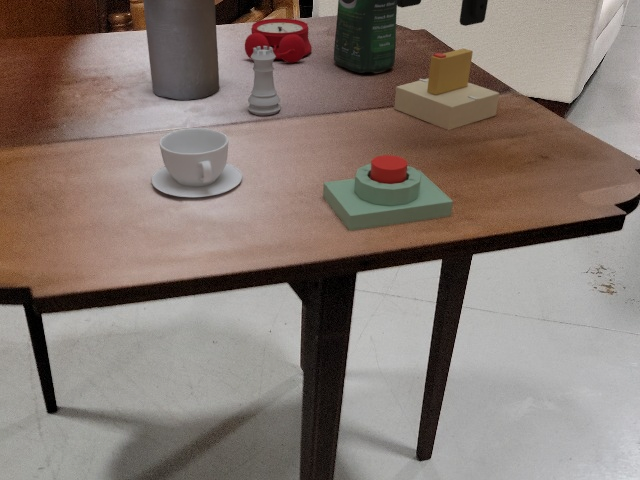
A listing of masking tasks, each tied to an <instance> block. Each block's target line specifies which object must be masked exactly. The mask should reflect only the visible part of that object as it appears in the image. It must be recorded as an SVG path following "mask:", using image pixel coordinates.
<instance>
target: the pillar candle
mask: <svg viewBox="0 0 640 480" xmlns="http://www.w3.org/2000/svg"><path fill="white" fill-rule="evenodd" d="M215 1H216V0H142V3H143V10H144V11H143V13H144V22H145V30H146V40H147V48H148V58H149V68H150V77H151V86H152V87H151V88H152V91H153V93H154V94H155V95H156V96H157V97H163V98H168V99H172V100H177V101H190V100H198V99H199V100H200V99H204V98H206V97H209V96H212V95H213V94H215V93H216V92H218V90H220V72H219V71H220V69H219V51H218V50H219V49H218V34H217V20H216V19H217V17H216V2H215Z"/></svg>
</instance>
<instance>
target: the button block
mask: <svg viewBox="0 0 640 480" xmlns="http://www.w3.org/2000/svg"><path fill="white" fill-rule="evenodd" d="M370 173H371V163H367V164H365V165H362V166H360V167H358V168H357V170H356V173H355V175H354V178H347V179H339V180H331V181H324V182H323V187H322V197H323V199H324V200H325V201H326V203H327V204H328V205H329V206H330V208H331V209H332V210H333V212H334V213H335V215H336V216H337V217H338V218H339V219H340V220H341V222H342V223H343V225H344V226H345V227H346V229H347V231H350V232H351V231H358V230H364V229H365V230H366V229H370V228H371V229H372V228H377V227H378V228H379V227H386V226H392V225H393V226H394V225H399V224H405V223H412V222H413V223H414V222H420V221H425V220H426V221H427V220H434V219H440V218H447V217H452V211H453V204H454V200H453V199H451V198H450V197H449V196H448V195H447V194H446V193H445V192H444V191H442V189H440V188H439V186H437V184H435V183H434V182H433V181H432V180H431V179H430V178H428V177H427V175H426V174H424V172H422V171H421V170H420V169H416V168H415V167H412V166H409V165H407V174H406V180H405V181H404V182H402V183H396V184H384V183H379V182H376V181H373V180H371V178H370Z"/></svg>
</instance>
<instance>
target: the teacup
mask: <svg viewBox="0 0 640 480" xmlns="http://www.w3.org/2000/svg"><path fill="white" fill-rule="evenodd" d="M229 141H230V140H229V137H228V135H226V134H225V133H223V131H220V130H216V129H212V128H206V127H189V128H188V127H187V128H181V129H177V130H174V131H170V132H168V133H166V134H164V135H163V136H162V137H160V139H159V142H158V144H159V145H158V146H159V149H160V154H161V158H162V162H163V165H164V166H162V167H160V168H159V169H157V170H156V171H155V172H154V173H153V175H152V176H151V184H152V186H153V187H154V188H155V189H156V190H158V191H160V192H162V193H164V194H167V195H170V196H174V197H181V198H204V197H205V198H206V197H212V196H217V195H219V194H224V193H226V192H228V191H230V190H232V189H234V188H235V187H237V186H238V185H239V184H240V183H241V181H242V180H243V174H242V171H241V170H240V169H239V168H238V167H236V166H235V165H234V164H231V163H228V156H229V155H228V154H229Z"/></svg>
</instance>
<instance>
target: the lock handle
mask: <svg viewBox="0 0 640 480" xmlns="http://www.w3.org/2000/svg"><path fill="white" fill-rule="evenodd" d="M472 58H473V50H471V49H467V48H460V49H456V50H452V51H446V52H443V53H440V52H437V53H434V54H432V55H431V57H430V64H429V74H428V78H429V80H428V89H427V92H429V93H431V94H434V95H438V94H442V93H445V92H449V91H452V90H456V89H459V88H463V87H466V86H468V83H469V79H470V72H471V66H472V60H473V59H472Z"/></svg>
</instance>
